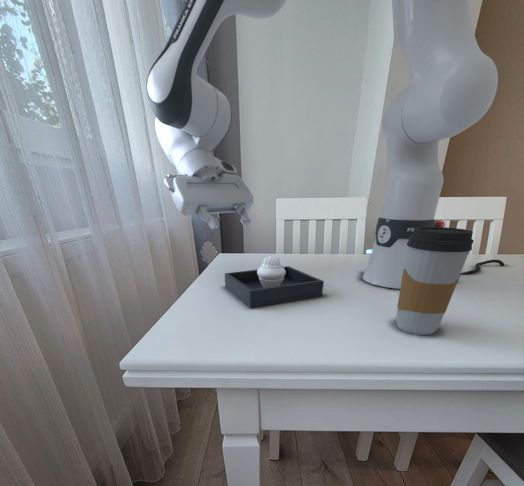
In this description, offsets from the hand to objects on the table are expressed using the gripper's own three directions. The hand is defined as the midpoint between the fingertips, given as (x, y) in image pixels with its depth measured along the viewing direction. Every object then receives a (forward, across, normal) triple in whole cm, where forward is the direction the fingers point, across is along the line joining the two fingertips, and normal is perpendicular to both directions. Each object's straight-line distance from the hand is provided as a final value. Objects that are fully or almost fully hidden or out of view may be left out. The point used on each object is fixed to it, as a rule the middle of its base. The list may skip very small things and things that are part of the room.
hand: (232, 225), depth 66 cm
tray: (+18, 0, 0) cm, 18 cm away
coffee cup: (+39, +2, -20) cm, 44 cm away
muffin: (+17, 0, 0) cm, 17 cm away
